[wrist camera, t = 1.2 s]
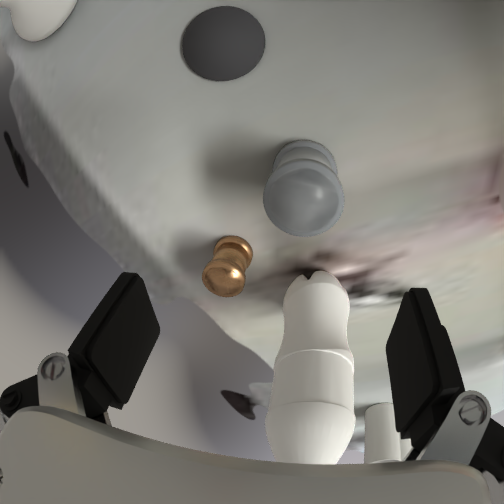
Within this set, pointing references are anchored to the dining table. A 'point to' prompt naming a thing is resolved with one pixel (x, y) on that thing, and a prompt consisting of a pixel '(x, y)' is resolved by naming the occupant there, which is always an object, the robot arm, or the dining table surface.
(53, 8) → the flower in vase
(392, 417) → the mug
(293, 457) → the water bottle
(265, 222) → the dining table surface
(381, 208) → the dining table surface
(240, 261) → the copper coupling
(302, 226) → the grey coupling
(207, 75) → the pad
